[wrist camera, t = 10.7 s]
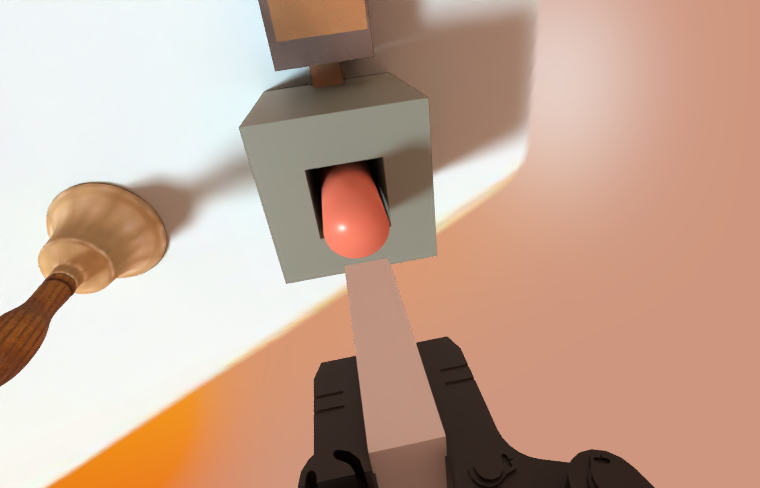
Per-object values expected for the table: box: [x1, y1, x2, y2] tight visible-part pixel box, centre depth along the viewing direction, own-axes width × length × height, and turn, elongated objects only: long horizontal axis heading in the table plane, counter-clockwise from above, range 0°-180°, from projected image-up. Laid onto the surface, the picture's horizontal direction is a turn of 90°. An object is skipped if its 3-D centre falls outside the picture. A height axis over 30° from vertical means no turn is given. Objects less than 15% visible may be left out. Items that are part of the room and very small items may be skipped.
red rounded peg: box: [320, 160, 390, 258], centre depth 21 cm, size 3×3×8 cm
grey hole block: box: [239, 73, 437, 284], centre depth 25 cm, size 9×9×11 cm
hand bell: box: [0, 183, 167, 386], centre depth 24 cm, size 8×8×16 cm
